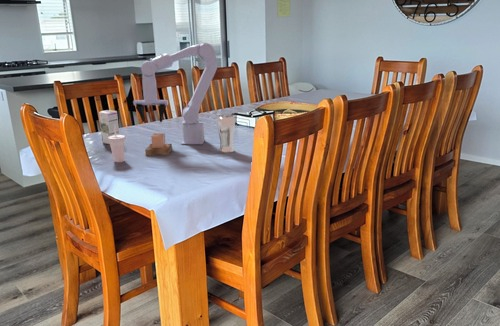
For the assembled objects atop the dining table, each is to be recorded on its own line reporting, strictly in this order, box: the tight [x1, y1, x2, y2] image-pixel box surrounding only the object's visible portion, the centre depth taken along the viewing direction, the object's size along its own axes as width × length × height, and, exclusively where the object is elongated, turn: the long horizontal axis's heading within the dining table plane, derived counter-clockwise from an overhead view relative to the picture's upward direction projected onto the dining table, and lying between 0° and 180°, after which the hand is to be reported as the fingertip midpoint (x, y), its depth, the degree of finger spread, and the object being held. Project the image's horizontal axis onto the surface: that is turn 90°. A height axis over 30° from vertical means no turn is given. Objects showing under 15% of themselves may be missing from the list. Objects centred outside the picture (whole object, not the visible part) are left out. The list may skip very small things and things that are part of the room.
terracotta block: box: [150, 132, 167, 148], centre depth 177 cm, size 4×4×5 cm
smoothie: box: [108, 125, 126, 163], centre depth 165 cm, size 6×6×14 cm
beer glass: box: [217, 113, 236, 154], centre depth 178 cm, size 7×7×15 cm
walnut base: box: [144, 143, 173, 156], centre depth 178 cm, size 9×9×2 cm
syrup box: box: [98, 109, 120, 146], centre depth 191 cm, size 6×6×14 cm
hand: (152, 121), depth 187 cm, fingers open, 7 cm apart
